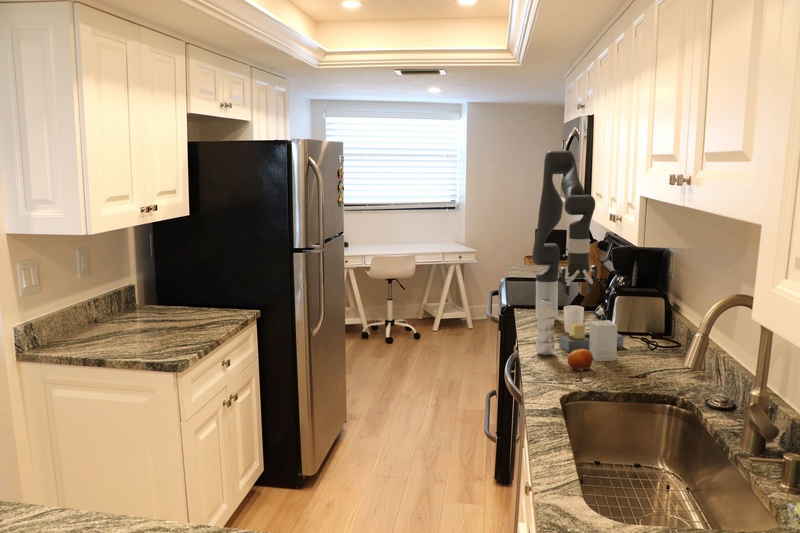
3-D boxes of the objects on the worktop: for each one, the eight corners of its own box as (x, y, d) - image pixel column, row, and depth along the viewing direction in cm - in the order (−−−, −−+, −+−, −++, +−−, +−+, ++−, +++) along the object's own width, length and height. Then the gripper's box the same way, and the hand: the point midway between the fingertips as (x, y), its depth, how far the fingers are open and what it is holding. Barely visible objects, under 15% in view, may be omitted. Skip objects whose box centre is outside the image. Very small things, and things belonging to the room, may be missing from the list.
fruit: (583, 371, 206) (575, 347, 208) (568, 377, 212) (560, 354, 215) (602, 367, 209) (593, 344, 212) (587, 373, 216) (579, 350, 218)
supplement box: (617, 360, 220) (618, 325, 218) (596, 361, 220) (596, 326, 217) (608, 354, 227) (609, 319, 225) (588, 355, 227) (589, 320, 225)
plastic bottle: (539, 350, 234) (540, 297, 230) (557, 353, 230) (558, 299, 227) (532, 355, 229) (532, 300, 225) (550, 358, 225) (551, 302, 221)
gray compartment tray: (559, 347, 237) (559, 336, 237) (612, 341, 242) (612, 331, 242) (568, 352, 231) (568, 341, 230) (623, 346, 236) (623, 336, 235)
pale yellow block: (569, 344, 237) (569, 323, 235) (578, 343, 237) (579, 322, 236) (574, 347, 233) (574, 326, 231) (584, 346, 234) (584, 325, 232)
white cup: (581, 329, 261) (582, 305, 259) (585, 334, 253) (585, 309, 252) (561, 329, 262) (562, 305, 260) (564, 334, 254) (565, 309, 252)
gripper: (591, 248, 235) (590, 291, 238) (555, 250, 232) (555, 294, 235) (602, 251, 228) (600, 295, 231) (565, 253, 225) (564, 298, 227)
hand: (577, 294), depth 233 cm, fingers open, 8 cm apart
